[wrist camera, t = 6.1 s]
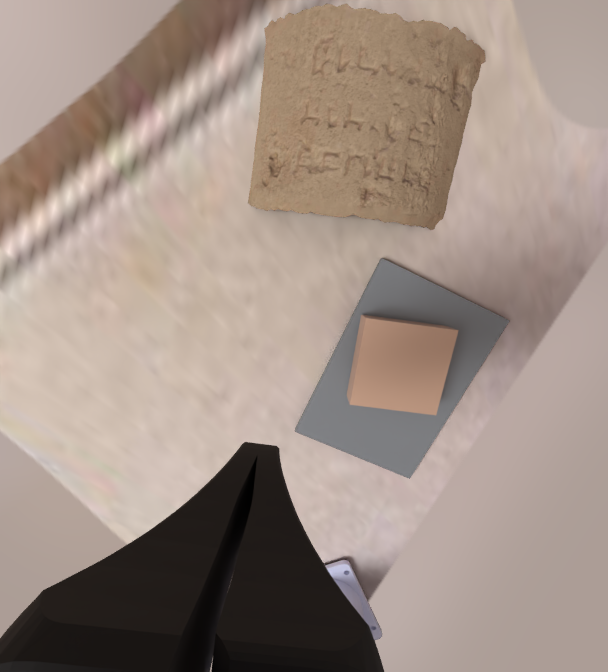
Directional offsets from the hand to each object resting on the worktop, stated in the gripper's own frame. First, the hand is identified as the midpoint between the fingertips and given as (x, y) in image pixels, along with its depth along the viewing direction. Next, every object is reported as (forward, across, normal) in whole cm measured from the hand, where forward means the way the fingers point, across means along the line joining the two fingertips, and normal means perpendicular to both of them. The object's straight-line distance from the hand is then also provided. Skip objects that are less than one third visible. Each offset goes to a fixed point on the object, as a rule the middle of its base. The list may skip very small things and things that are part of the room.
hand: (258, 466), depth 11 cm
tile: (+9, -5, -2) cm, 11 cm away
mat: (+10, -8, -1) cm, 13 cm away
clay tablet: (+11, -3, -16) cm, 20 cm away
